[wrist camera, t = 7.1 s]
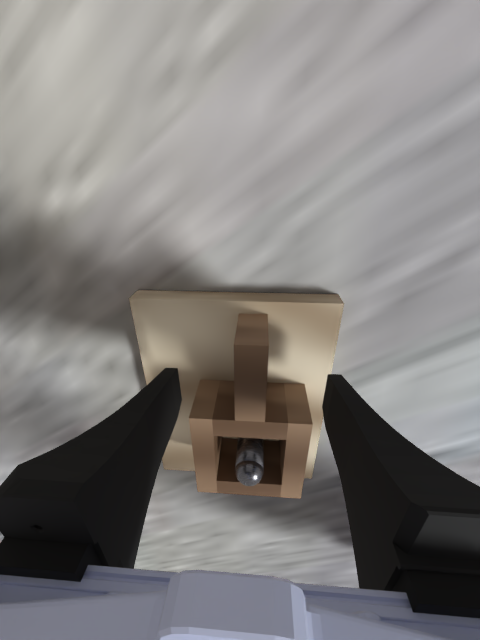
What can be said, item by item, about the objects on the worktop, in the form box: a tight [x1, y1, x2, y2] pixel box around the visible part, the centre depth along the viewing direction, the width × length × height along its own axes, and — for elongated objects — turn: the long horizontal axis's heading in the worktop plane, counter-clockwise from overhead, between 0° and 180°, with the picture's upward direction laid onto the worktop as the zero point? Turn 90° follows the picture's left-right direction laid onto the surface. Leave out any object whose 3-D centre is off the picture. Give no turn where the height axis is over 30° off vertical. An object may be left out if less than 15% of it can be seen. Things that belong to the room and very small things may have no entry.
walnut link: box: [189, 313, 313, 499], centre depth 16 cm, size 11×6×3 cm, turn 0°
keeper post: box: [235, 437, 264, 486], centre depth 17 cm, size 2×2×4 cm
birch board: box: [129, 290, 344, 479], centre depth 18 cm, size 14×11×1 cm
